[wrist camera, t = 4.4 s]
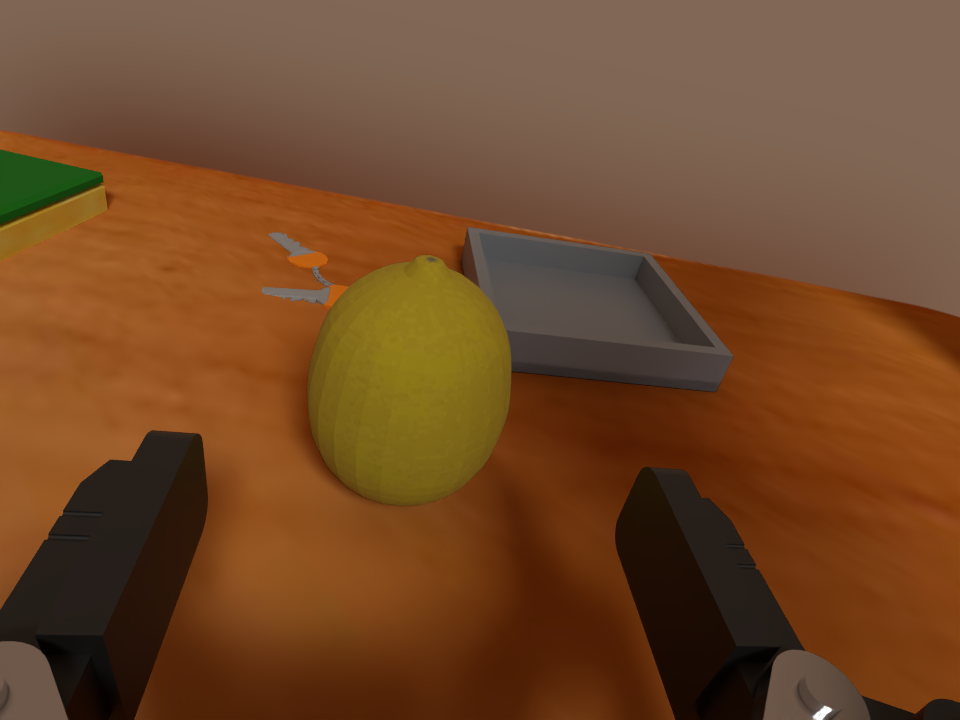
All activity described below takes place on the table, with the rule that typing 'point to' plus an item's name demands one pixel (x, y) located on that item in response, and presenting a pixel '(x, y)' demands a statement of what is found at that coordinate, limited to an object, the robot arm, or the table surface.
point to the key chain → (306, 260)
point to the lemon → (409, 383)
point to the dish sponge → (43, 200)
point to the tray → (593, 312)
